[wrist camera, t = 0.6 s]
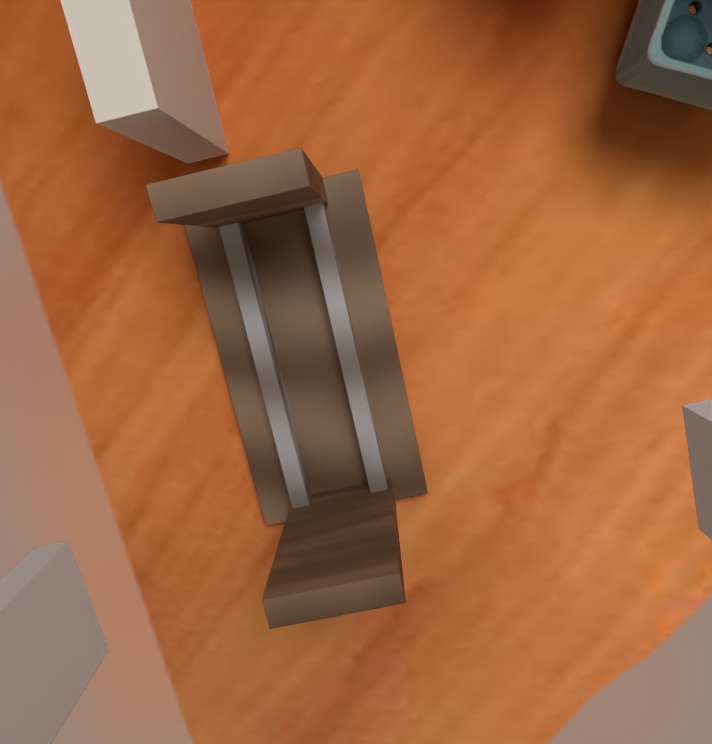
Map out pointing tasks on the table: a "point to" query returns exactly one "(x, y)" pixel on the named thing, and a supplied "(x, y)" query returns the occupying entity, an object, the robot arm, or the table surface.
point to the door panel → (148, 74)
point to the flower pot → (669, 51)
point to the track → (306, 373)
